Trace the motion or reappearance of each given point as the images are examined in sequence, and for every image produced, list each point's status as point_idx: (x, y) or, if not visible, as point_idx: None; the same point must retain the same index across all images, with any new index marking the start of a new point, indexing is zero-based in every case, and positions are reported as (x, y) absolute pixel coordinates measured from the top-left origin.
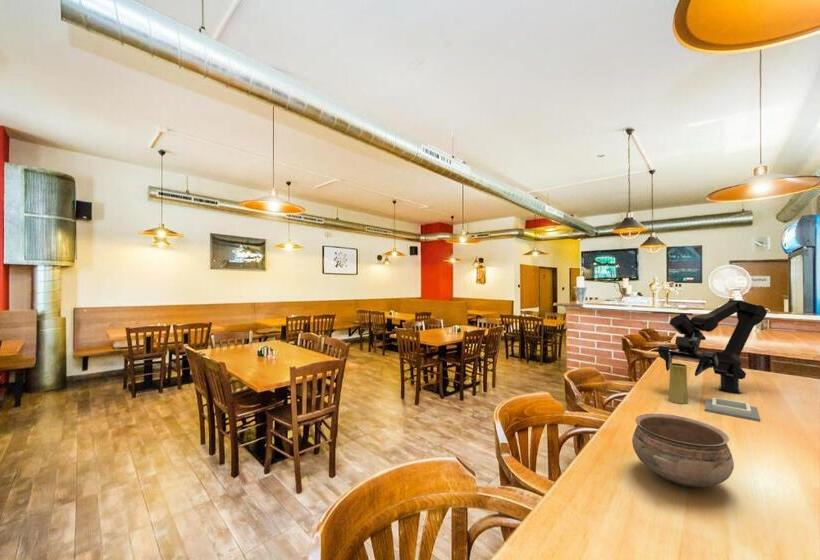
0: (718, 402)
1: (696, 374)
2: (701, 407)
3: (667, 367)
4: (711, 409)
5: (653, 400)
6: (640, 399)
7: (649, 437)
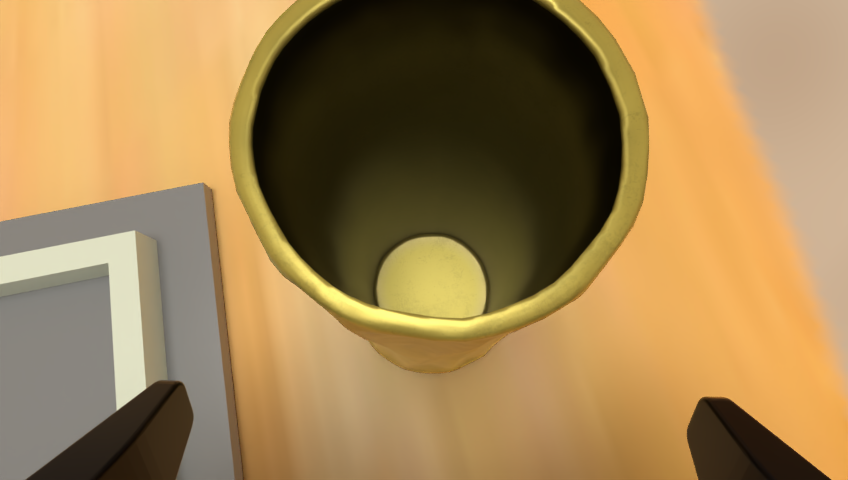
0: None
1: (151, 397)
2: (247, 274)
3: (737, 429)
4: (158, 207)
5: None
6: (656, 87)
7: None
